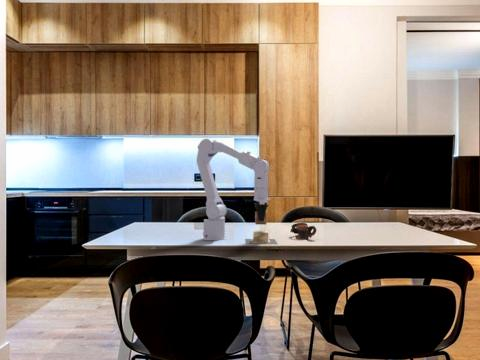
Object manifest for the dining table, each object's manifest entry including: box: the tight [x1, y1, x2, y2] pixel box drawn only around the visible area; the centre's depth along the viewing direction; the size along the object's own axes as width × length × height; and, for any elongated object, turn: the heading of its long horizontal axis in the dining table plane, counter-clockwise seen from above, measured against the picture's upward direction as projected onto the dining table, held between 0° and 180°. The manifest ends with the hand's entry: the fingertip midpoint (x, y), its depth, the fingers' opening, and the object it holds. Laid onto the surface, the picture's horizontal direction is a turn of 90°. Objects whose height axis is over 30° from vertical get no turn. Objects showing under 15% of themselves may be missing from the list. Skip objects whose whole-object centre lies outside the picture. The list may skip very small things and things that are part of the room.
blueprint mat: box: [244, 238, 278, 245], centre depth 175 cm, size 13×13×1 cm
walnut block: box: [254, 211, 268, 225], centre depth 176 cm, size 4×4×5 cm
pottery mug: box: [290, 222, 317, 241], centre depth 187 cm, size 12×10×8 cm
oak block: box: [252, 230, 269, 242], centre depth 176 cm, size 6×6×4 cm
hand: (260, 220), depth 176 cm, fingers closed on walnut block, 4 cm apart
